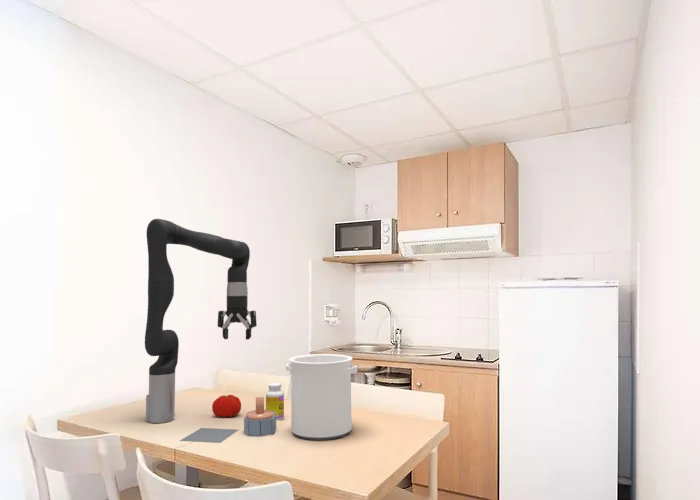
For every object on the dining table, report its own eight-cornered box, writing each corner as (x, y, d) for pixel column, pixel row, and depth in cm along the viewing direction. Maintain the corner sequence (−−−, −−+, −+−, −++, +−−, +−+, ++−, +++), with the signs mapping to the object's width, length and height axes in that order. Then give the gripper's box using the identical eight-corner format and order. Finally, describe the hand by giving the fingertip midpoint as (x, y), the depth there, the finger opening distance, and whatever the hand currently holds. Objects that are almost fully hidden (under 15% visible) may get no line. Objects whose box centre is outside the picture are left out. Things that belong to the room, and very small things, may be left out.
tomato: (230, 421, 177) (230, 400, 177) (206, 418, 181) (206, 398, 181) (247, 413, 187) (247, 394, 187) (223, 411, 191) (223, 392, 191)
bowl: (240, 437, 157) (240, 420, 158) (252, 428, 167) (252, 412, 167) (269, 438, 155) (268, 421, 156) (279, 429, 165) (279, 413, 166)
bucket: (367, 425, 168) (366, 355, 170) (346, 445, 148) (345, 364, 150) (300, 420, 177) (300, 352, 178) (272, 437, 156) (272, 361, 158)
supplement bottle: (280, 422, 174) (280, 386, 175) (263, 421, 175) (263, 385, 176) (286, 417, 181) (286, 382, 182) (269, 416, 182) (269, 382, 183)
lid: (241, 419, 158) (242, 400, 158) (252, 412, 167) (252, 394, 167) (267, 420, 156) (267, 401, 157) (277, 413, 165) (277, 395, 166)
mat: (179, 442, 153) (179, 440, 153) (201, 429, 166) (201, 427, 166) (220, 444, 150) (220, 442, 150) (239, 431, 164) (239, 429, 164)
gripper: (214, 295, 175) (214, 340, 173) (251, 294, 172) (251, 340, 171) (223, 294, 182) (223, 338, 181) (259, 294, 179) (259, 338, 178)
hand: (236, 339), depth 176 cm, fingers open, 8 cm apart
